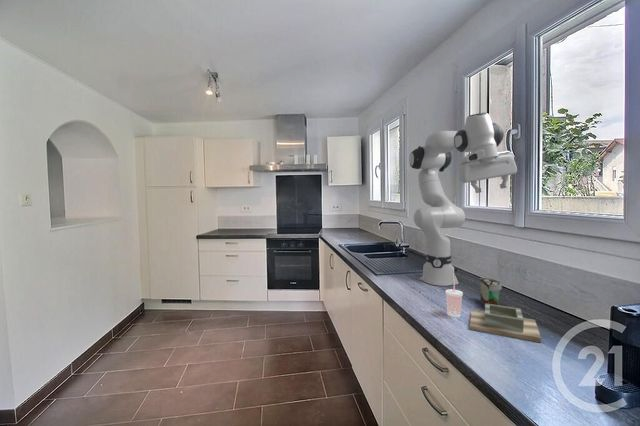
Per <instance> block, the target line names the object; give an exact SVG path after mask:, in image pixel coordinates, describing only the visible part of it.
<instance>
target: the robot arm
mask: <svg viewBox="0 0 640 426" xmlns="http://www.w3.org/2000/svg"><path fill="white" fill-rule="evenodd" d="M504 135H505V134H504V130H503V128H502V127H501V126H500V125H499V124H497V123H495V122H493V121H492V118H491V116H490V114H489V113H487V112H479V113H474V114H470V115H468V116H467V117H466V118H465V123H464V125H463V126H462V127H461V129H460V130H439V131H435V132H433V133H431V134H430V135H428V136H427V137H426V140H425V143H424V146H421V145H419V146H418V147H417V148H415V149H414V150H412V151H411V152H410V154H409V156H408V157H409V159H408V162H409V166H410V167H411V168H412V169H415V170H420V171H419V172H418V175H417V177H418V186H419V190H420V194H421V199H422V200H423V202H424V203H425V204H426V205H428V206H425V207H420V208H418V209H416V210H415V212H414V214H413V221H414V224H415V225H416V227H417V228H419V229H420V230H421V231H422V232H423V233H424V235H425V238H426V243H427V244H426V246H427V249H426V250H427V253H426V257H425V258H426V262H425V263H424V264H423V266H422V267H423V269H422V270H423V271H422V276H420V277H419V280H420V281H422V282H424V283H426V284H428V285H431V286H432V285H434V286H440V287H441V286H445V287H447V286H452V285H453V286H454V279H455V286H457V285H459V281H458V279H457V276H456V274H455V267H454V266H453V265H452V255H451V252H452V251H451V248H452V247H451V240H450V238H449V237H447V236H446V235H445V234H442V233H441V232H442V231H441V229H453V228H458V227H461V226H463V224H464V223H465V222H466V221H465V220H466V213H465V211H464V210H463V208H461V207H459V206H457V205H455V204H454V203H453V202H452V201H451V200H450V199H449V198H448V196H447V195H446V194H445V191H444V189H443V185H442V182H441V179H440V178H439V177H440V176H439V172H440V173H443V172H445V169H447V168H448V167H449V166H450V165H451V163H452V160H453V159H452V157H453V156H452V153H451V152H454V151H458V152H460V153H468V154H466V155H465V156H463V157H462V158H460V159H459V160H458V163H459V165H460V166H459V168H458V175H459V181H460V182H461V183H462V184H466V183H470V186H471V187H472V188H473V189H474V190H475V194H480V193H482V187H479V186H478V185H477V184H478V181H483V180H489V179H494V178H495V179H496V178H501V180H502V182H501V184H499V187H500V189H506V188H507V187H508V186H507V182H508V180H509V176H513V175H516V174H517V172H518V167H517V163H516V160H515V155H514V153H513V152H512V151H509V150H504V151H498V147H499V146H500V145H501V143H502V142H503V139H504Z"/></svg>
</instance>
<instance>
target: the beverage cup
mask: <svg viewBox="0 0 640 426" xmlns="http://www.w3.org/2000/svg"><path fill="white" fill-rule="evenodd" d="M452 288H453V289H452ZM452 288H450V289H446V290H445V291H444V292H445V296H446V298H445V300H446V314H447V316H449V317H452V318H460V317H461V312H462V302H463V301H462V300H463V295H464V292H463V291H461V290H459V289H456V285H455V279H454V285H453V287H452Z"/></svg>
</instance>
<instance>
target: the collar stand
mask: <svg viewBox="0 0 640 426" xmlns="http://www.w3.org/2000/svg"><path fill="white" fill-rule="evenodd" d="M469 330H470V331H476V332H481V333H487V334H492V335H497V336H502V337H503V336H504V337H507V338H513V339H517V340H518V339H520V340H523V341H524V340H525V341H531V342H534V343H540V344H541V343H542V337H541V334H540V331H539V327H538V325H537V322H536V320H535V319H532V318H526V317H524V316H523V312H522V310H521V308H519V307H513V306H505V305H499V304H498V305H493V304H486V303H485V306H484V311H480V310H474V309H471V313H470V321H469Z"/></svg>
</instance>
